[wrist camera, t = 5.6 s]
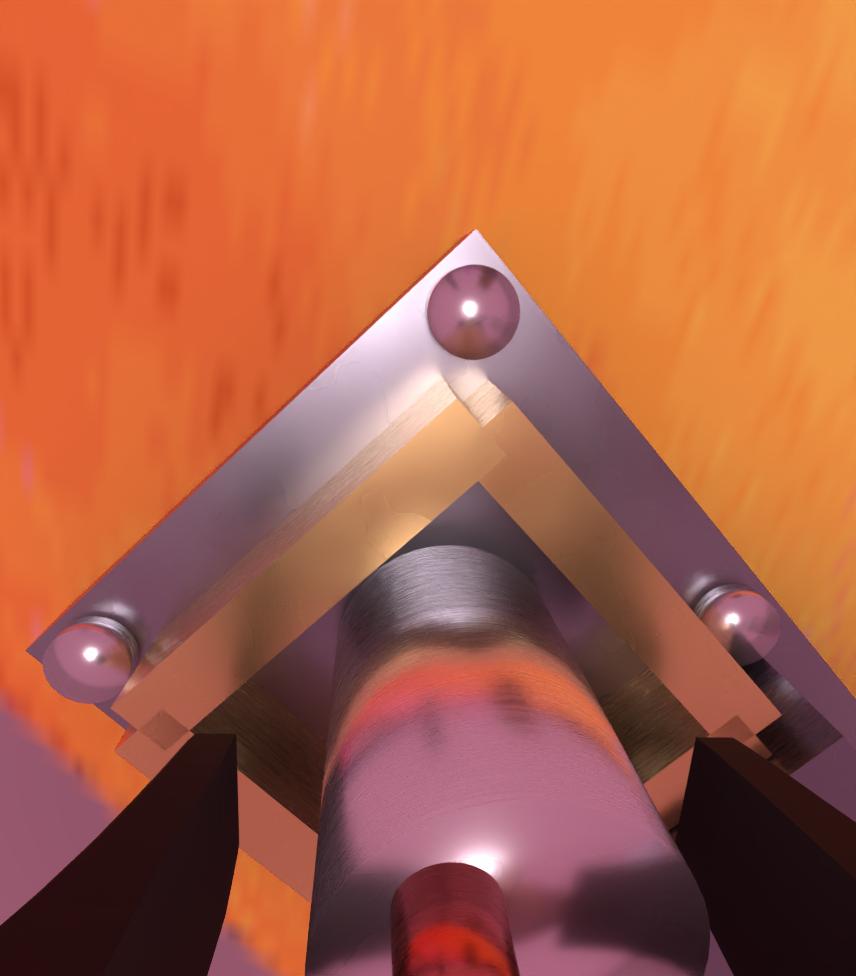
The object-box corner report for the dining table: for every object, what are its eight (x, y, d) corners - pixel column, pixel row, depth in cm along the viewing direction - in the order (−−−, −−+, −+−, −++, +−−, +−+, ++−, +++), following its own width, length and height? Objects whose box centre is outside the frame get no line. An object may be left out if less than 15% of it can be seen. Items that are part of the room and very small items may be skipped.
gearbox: (856, 719, 18) (1031, 878, 13) (510, 969, 20) (552, 1190, 15) (463, 236, 14) (506, 210, 9) (69, 605, 15) (-71, 747, 11)
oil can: (590, 658, 14) (878, 1148, 6) (423, 772, 15) (486, 1365, 7) (469, 501, 13) (629, 857, 5) (291, 631, 14) (171, 1149, 6)
